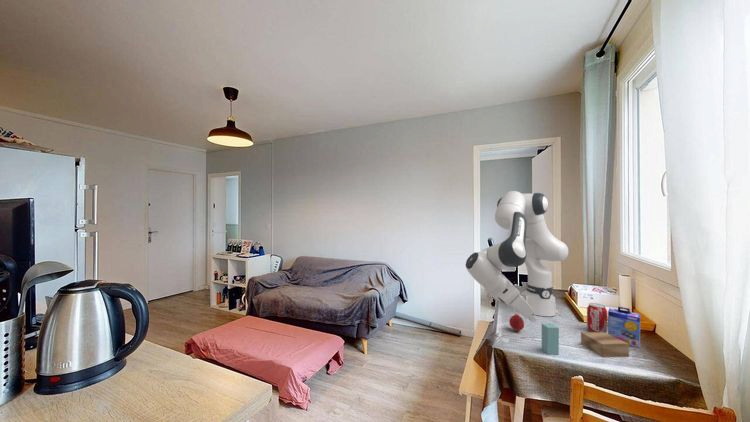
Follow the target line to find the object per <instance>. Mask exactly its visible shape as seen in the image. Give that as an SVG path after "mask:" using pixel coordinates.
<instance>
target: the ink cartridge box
mask: <svg viewBox="0 0 750 422" xmlns="http://www.w3.org/2000/svg"><path fill="white" fill-rule="evenodd" d="M607 334H609V335H611V336H613V337H616V338H618V339H620V340H622V341H624V342H626V343H628V344H629V346H632V347H636V348H640V347H641V314H640V313H637V312H636V313H635V312H633V311H630V308H627V307H621V306H617V309H616V308H610V307H609V309H608V310H607Z"/></svg>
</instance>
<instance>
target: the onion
mask: <svg viewBox="0 0 750 422" xmlns="http://www.w3.org/2000/svg"><path fill="white" fill-rule="evenodd" d="M509 326H510V327H511V328H512V329H513V330H514V331H515V332H519V331H521V330H523V329H524V328H525V322H524V319H523V317H521V316H520V315H519V314H518V312H517V313H516V312H515V313H514V315H512V316H511V317H510V319H509Z"/></svg>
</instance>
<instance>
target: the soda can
mask: <svg viewBox="0 0 750 422" xmlns="http://www.w3.org/2000/svg"><path fill="white" fill-rule="evenodd" d="M586 309H587V310H586V327H587V330H588V331H590V332H605V333H607V334H608V310H607V308H606V305H603V304H601V303H596V302H589V303H588V305H587V307H586Z"/></svg>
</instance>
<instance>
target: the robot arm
mask: <svg viewBox="0 0 750 422" xmlns="http://www.w3.org/2000/svg"><path fill="white" fill-rule="evenodd" d="M548 206H549V202H548V198H547V197H546V195H545V194H543V193H542V192H541V193H540V192H534V193H521V192H520V191H517V190H510V191H508V192H506V193H504V195H503V196H501V197H500V198H499V199H498V201H497V203H496V210H495V213H494V221H495V223H496V224H497V225H498V226H499V227H500V228H503V230H508V231H509V232H508V237H506V239H504V240H502V241H501V242H498V243H496V244H494V245H491V246H488V247H486V248H484V249H482V250H481V251H478V252H477V251H476V252H473V253H472V254H470V256H469V257H468V258H467V259H466V261H465V269H466V270H467V272H468V273H469V274H470V275H471V277H472V278H473V279H474V280H475V282H477V283H478V284H479V285H480V286H481V285H482V287H483V288H484V290H485V291H486V292H487V294H489V295H490V297H491V298H493V299H494V300H495V301H496V302H501V303H503V304H505V305H507V306H509V307H510V308H512V309H514V311H517V313H519V314H521V315H522V316H523V317H524V318H525V319H528V320H530V322H532V323H535V321H537V318H536V317H535V316H539V317H540V316H541V317H553V316H556V314H559V311H558V310H557V308H556V307H557V306H556V297H555V296H554V295H553V294H554V288H553V286H552V285H553V273H552V271H551V269H549V268H548V267H546V266H545V265H544V264H543V263H542V261H547V262H562V261H565V260H566V259H567V258H568V256H569V252H570V251H569V247H568V246H567V244H566V243H565V242H563V241H561V240H560V239H559V238H556V236H554V235H553V234H552V233H551V232H550V229H549V228H548V226H547V223H546V219H545V215H544V214H545V213H546V212H547V211H548ZM524 264H525V267H526V270H527V283H526V285H525V290H524V291H523V292H520V291H519V290H518V288H516V286H514V284H513V283H512V282H511V281H510V280H509V279H508V278H507V277H506V276H505V274H503V273H502V270H505V269H508V268H512V267H513V268H514V267H520V266H522V265H524ZM534 315H535V316H534Z"/></svg>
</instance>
